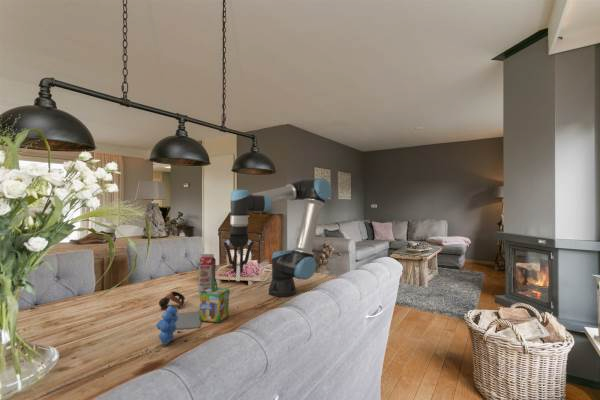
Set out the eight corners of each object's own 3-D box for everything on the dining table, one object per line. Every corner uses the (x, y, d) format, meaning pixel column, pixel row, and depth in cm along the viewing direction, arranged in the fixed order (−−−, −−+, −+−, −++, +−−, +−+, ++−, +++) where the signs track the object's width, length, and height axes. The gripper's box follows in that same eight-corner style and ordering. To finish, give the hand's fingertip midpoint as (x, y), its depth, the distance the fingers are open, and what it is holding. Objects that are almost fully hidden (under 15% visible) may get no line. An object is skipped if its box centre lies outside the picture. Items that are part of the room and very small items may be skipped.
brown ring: (168, 304, 141) (178, 289, 142) (181, 316, 137) (190, 300, 138) (149, 306, 130) (159, 289, 131) (162, 318, 126) (173, 301, 127)
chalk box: (218, 323, 117) (221, 286, 117) (198, 320, 119) (200, 284, 119) (228, 315, 126) (230, 281, 126) (209, 313, 128) (211, 279, 128)
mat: (203, 312, 130) (203, 311, 130) (199, 328, 113) (199, 326, 113) (170, 314, 127) (170, 313, 127) (160, 331, 110) (160, 329, 110)
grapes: (162, 334, 107) (163, 301, 108) (181, 334, 108) (182, 301, 108) (148, 350, 96) (148, 313, 96) (169, 349, 96) (169, 313, 96)
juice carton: (202, 293, 157) (203, 253, 157) (215, 294, 157) (215, 253, 157) (198, 297, 150) (198, 255, 151) (210, 297, 150) (211, 255, 150)
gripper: (253, 224, 130) (252, 277, 130) (223, 224, 128) (222, 278, 127) (254, 226, 123) (253, 281, 122) (223, 225, 120) (221, 283, 120)
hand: (238, 280), depth 125 cm, fingers closed
